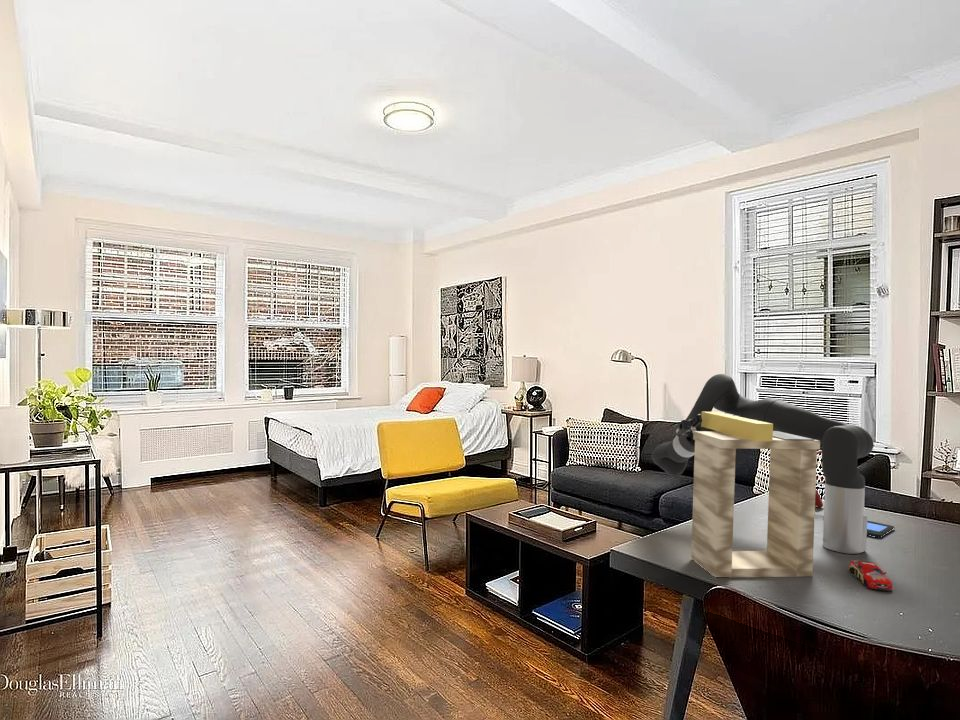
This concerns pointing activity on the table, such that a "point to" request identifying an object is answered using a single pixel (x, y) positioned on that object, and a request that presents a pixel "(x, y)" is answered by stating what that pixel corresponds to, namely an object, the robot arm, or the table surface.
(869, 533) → the handheld game console
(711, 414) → the beam
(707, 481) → the shelf
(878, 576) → the race car
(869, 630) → the table surface
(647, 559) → the table surface
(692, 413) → the robot arm
